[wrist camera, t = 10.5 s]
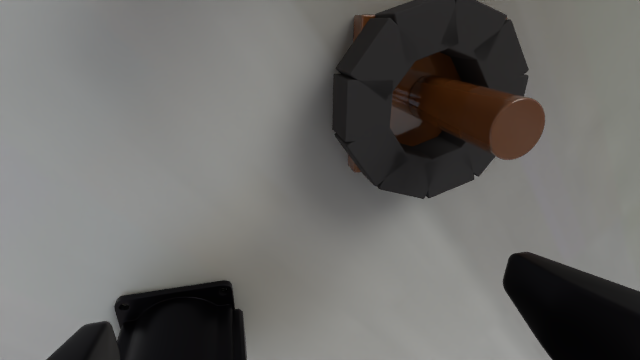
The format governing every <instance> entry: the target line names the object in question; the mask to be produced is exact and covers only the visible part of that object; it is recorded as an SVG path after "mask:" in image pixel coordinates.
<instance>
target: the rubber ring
mask: <svg viewBox="0 0 640 360" xmlns="http://www.w3.org/2000/svg"><path fill="white" fill-rule="evenodd" d="M506 18H507V15H505V14H503V13H501V12H499V11H497V10H495V9H493V8H491V7H489V6H487V5H485V4H482V3H480V2H478V1H476V0H413V1H411V2H408V3H405V4H402V5H399V6H397V7H394V8H391V9H388V10H385V11H383V12H380V13H377V14H375V18H370V19H369V21H368V22H367V24H366V25H365V26H364V28H363V29H362V31H361V32H360V34H359V35H358V37H357V38H356V40H355V41H354V42H353V44H352V45H351V47H350V48H349V50H348V51H347V53H346V54H345V56H344V57H343V58H342V60H341V61H340V63H339V64H338V66H337V67H336V70H338V71H339V72H340V73H341V74H334V82H333V123H332V129H333V130H334V131H335V132H336V133H335V137H336V138H337V139H338V141H339V142H340V143H341V145H342V146H343V148H344V149H345V150H346V152H347V153H348V154H349V156H350V157H351V159H352V160H353V161H354V163H355V164H356V165H357V167H358V168H359V170H360V171H361V172H362V173H363V174H364V175H365V176H366V177H367V178H368V179H369V180H370V182H371V183H372V184H373V185H374V186H377V187H378V188H379V189H381V190H385V191H390V192H395V193H399V194H404V195H408V196H413V197H417V198H422V199H424V198H425V196H427V197H428V198H431V197H433V196H436V195H438V194H441V193H443V192H445V191H448V190H450V189H453V188H455V187H457V186H460V185H462V184H465V183H467V182H469V181H472V180H474V174H475V175H476V176H479V175H480V174H481V173H482V172H483V171H484V169H485V168H486V167H487V166H488V165H489V163H490V162H491V161H492V160H493V159H494V157H495V156H494V155H492V154H490V153H488V152H486V151H484V150H482V149H480V148H478V147H475V146H473V145H471V144H469V143H467V142H465V141H463V140H461V139H459V138H457V137H455V136H453V135H451V134H449V133H447V132H445V131H442V132H441V133H440V134H439V136H438V137H435V138H433V139H430V140H428V141H425V142H423V143H420V144H418V145H415V146H409V145H405V144H402V143H399V141H398V140H397V138H396V137H395V135H394V133H393V132H392V130H391V129H390V118H391V107H392V96H393V91H394V90H395V88H396V87H397V86H398V84H399V83H400V81H401V80H402V79H403V77H404V76H405V75H406V73H407V72H408V71H409V69H410V68H411V66H412V65H413V64H414V62H415V61H417V60H420V59H422V58H425V57H428V56H430V55H433V54H436V53H438V52H440V53H443V54H445V55H448V56H450V57H451V59H452V61H453V64H454V66H455V68H456V70H457V72H458V74H459V76H460V79H461V81H462V82H466V83H471V84H475V85H479V86H483V87H487V88H491V89H495V90H499V91H503V92H508V93H512V94H516V95H520V96H524V93H525V89H526V85H527V81H528V75H524V73H526V72H527V71H528V67H527V64H526V61H525V58H524V55H523V52H522V50H521V47H520V44H519V41H518V38H517V35H516V32H515V30H514V27H513V24H512V21H511V20H506Z"/></svg>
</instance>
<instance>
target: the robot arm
mask: <svg viewBox="0 0 640 360" xmlns="http://www.w3.org/2000/svg"><path fill="white" fill-rule="evenodd" d="M503 286H504V289H505V291H506V292H507V294H508V296H509V297H510V299H511V300H512V302H513V303H514V305H515V306H516V308H517V309H518V311H519V312H520V314H521V315H522V317H523V318H524V320H525V321H526V323H527V324H528V326H529V327H530V329H531V331H532V332H533V334H534V335H535V337H536V338H537V340H538V341H539V342H540V344H541V345H542V347H543V348H544V349H545V351H546V352H547V353H548V355H549V356H550V357H551V359H552V360H640V292H639V291H637V290H634V289H631V288H628V287H625V286H623V285H620V284H617V283H614V282H611V281H609V280H606V279H603V278H600V277H597V276H594V275H592V274H589V273H586V272H583V271H580V270H578V269H575V268H572V267H569V266H566V265H564V264H561V263H558V262H555V261H552V260H550V259H547V258H544V257H541V256H538V255H536V254H533V253H530V252H521V253H515V254H512V255H511V256H510V257H509V259H508V263H507V267H506V270H505V274H504V278H503ZM222 288H226V289H227V290H221V289H222ZM122 304H127V305H128V306H124V305H122ZM115 312H116V315H117V319H118V322H119V325H120V329H121V330H120V333H119V336H118V339H117V341H116V337H115V334H114V331H113V328H112V325H111V324H110V322H107V321H103V322H97V323H91V324H86V325H84V326H83V327H81V328H80V329H79V330H78V331H77V332H76V333H75V334H74V335H72V336H71V337H70V338H69V339H68V340H67V341H66V342H65V343H64V344H63V345H62V346H61V347H59V348H58V349H57V350H56V351H55V352H54V353H53V354H52V355H51V356H50V357H49V358H48V359H46V360H247V352H246V338H245V329H244V319H243V311H241V310H240V309H235V305H234V296H233V288H232V284H231V283H230V282H229V281H217V282H211V283H204V284H197V285H191V286H184V287H178V288H171V289H164V290H158V291H151V292H145V293H138V294H131V295H125V296H121V297H119V298H118V299H117V301H116V304H115Z"/></svg>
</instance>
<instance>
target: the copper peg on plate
mask: <svg viewBox="0 0 640 360" xmlns="http://www.w3.org/2000/svg"><path fill="white" fill-rule="evenodd" d="M370 18H375V15H355V16H354V35H353V42H354V41H355V40H356V38H357V37H358V35H359V34H360V32H361V31H362V29H363V28H364V26H365V25H366V24H367V22H368V21H369V19H370ZM506 20H507V18H506ZM544 125H545V113H544V110H543V108H542V106H541V105H540V104H539V103H538V102H537V101H536V100H534V99H532V98H528V97H524V96H520V95H516V94H512V93H508V92H503V91H499V90H495V89H491V88H487V87H483V86H479V85H475V84H471V83H466V82H462V81H461V79H460V76H459V74H458V72H457V70H456V68H455V66H454V64H453V61H452V59H451V57H450V56H448V55H445V54H443V53H440V52H438V53H436V54H433V55H430V56H428V57H425V58H422V59H420V60H417V61H415V62H414V64H413V65H412V66H411V68H410V69H409V71H408V72H407V73H406V75H405V76H404V77H403V79H402V80H401V81H400V83H399V84H398V86H397V87H396V88H395V90H394V91H393V96H392V107H391V118H390V129H391V130H392V132H393V133H394V135H395V137H396V138H397V140H398V141H399V143H402V144H405V145H409V146H415V145H418V144H420V143H423V142H425V141H428V140H430V139H433V138H435V137H438V136H439V134H440V133H441V132H442V131H445V132H447V133H449V134H451V135H453V136H455V137H457V138H459V139H461V140H463V141H465V142H467V143H469V144H471V145H473V146H475V147H478V148H480V149H482V150H484V151H486V152H488V153H490V154H492V155H494V156H496V157H498V158H500V159H504V160H512V159H516V158H519V157H521V156H523V155H525V154H526V153H528V152H529V151H530V150H531V149H532V148H533V147H534V146H535V145H536V143H537V142H538V140H539V139H540V137H541V135H542V132H543V129H544ZM348 166H349V167H350V168H351V169H352V170H353V171H354V172H361V171H360V170H359V168H358V167H357V165H356V164H355V163H354V161H353V160H352V159H351V157H350V156H349V155H348Z"/></svg>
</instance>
